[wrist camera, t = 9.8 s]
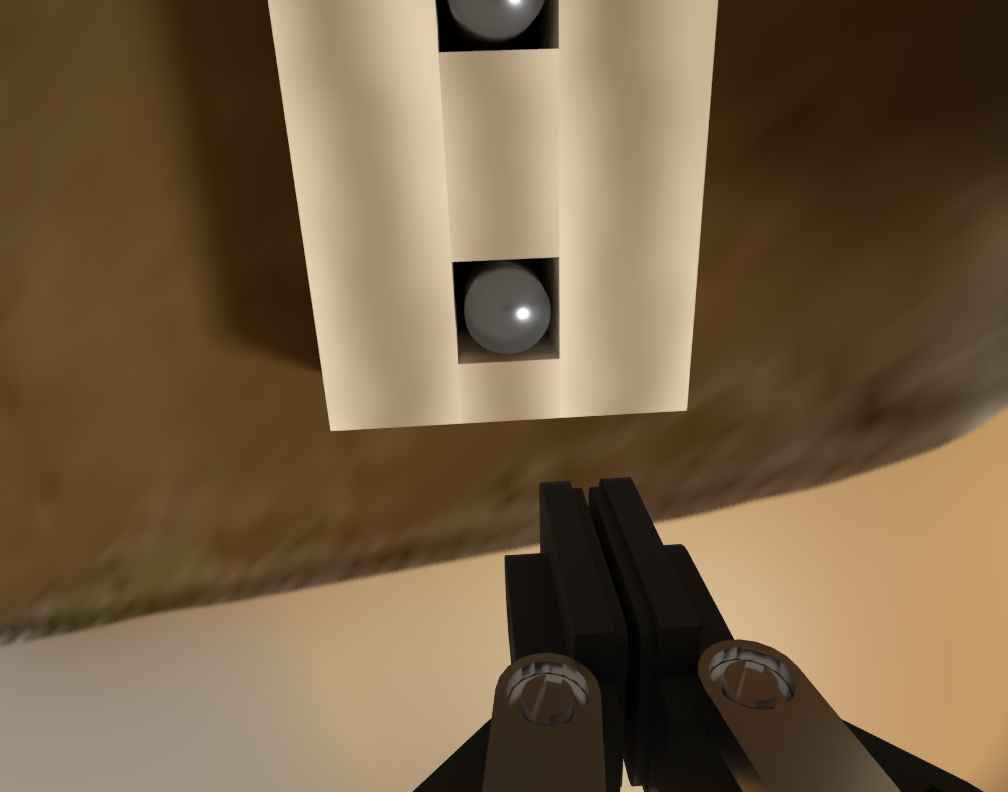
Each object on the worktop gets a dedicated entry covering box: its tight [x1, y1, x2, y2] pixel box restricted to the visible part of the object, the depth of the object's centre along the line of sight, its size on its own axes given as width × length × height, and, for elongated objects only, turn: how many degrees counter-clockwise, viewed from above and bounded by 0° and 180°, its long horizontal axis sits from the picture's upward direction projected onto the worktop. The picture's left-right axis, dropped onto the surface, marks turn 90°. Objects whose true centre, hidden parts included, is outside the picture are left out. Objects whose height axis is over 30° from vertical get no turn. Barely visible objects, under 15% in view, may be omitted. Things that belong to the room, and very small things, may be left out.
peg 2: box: [463, 259, 551, 354], centre depth 31 cm, size 4×4×6 cm
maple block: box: [268, 0, 718, 431], centre depth 29 cm, size 16×22×6 cm
